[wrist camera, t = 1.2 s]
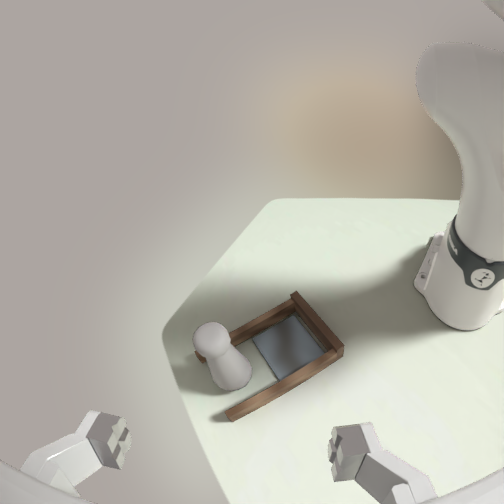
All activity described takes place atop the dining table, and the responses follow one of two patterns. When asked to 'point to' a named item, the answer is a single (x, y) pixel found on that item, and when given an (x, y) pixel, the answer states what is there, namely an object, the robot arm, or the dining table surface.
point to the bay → (286, 349)
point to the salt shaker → (222, 356)
